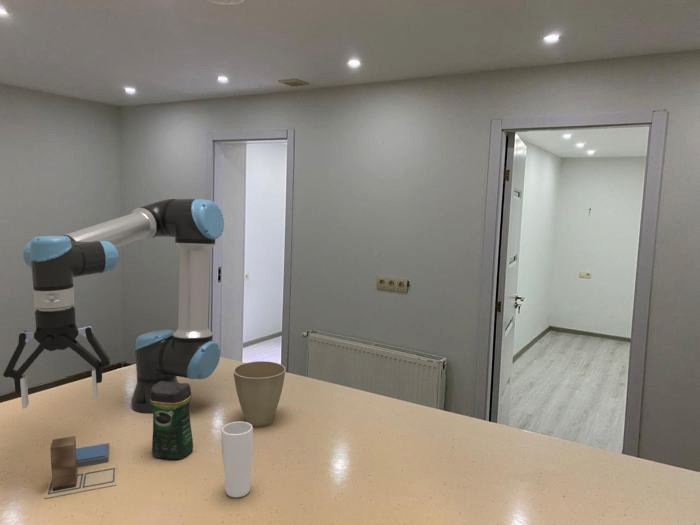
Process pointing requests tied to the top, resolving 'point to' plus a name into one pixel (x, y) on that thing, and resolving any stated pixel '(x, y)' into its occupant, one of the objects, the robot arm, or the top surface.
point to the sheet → (87, 482)
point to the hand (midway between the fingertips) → (61, 401)
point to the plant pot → (259, 390)
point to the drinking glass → (237, 457)
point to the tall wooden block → (63, 463)
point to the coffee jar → (171, 420)
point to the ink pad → (92, 455)
